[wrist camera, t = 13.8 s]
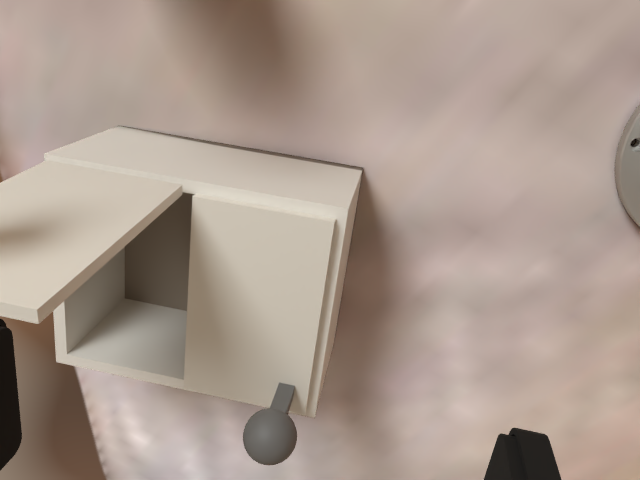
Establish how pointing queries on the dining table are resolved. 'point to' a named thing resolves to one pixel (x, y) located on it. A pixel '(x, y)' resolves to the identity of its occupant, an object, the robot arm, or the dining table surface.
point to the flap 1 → (67, 230)
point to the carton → (174, 250)
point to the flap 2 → (256, 312)
